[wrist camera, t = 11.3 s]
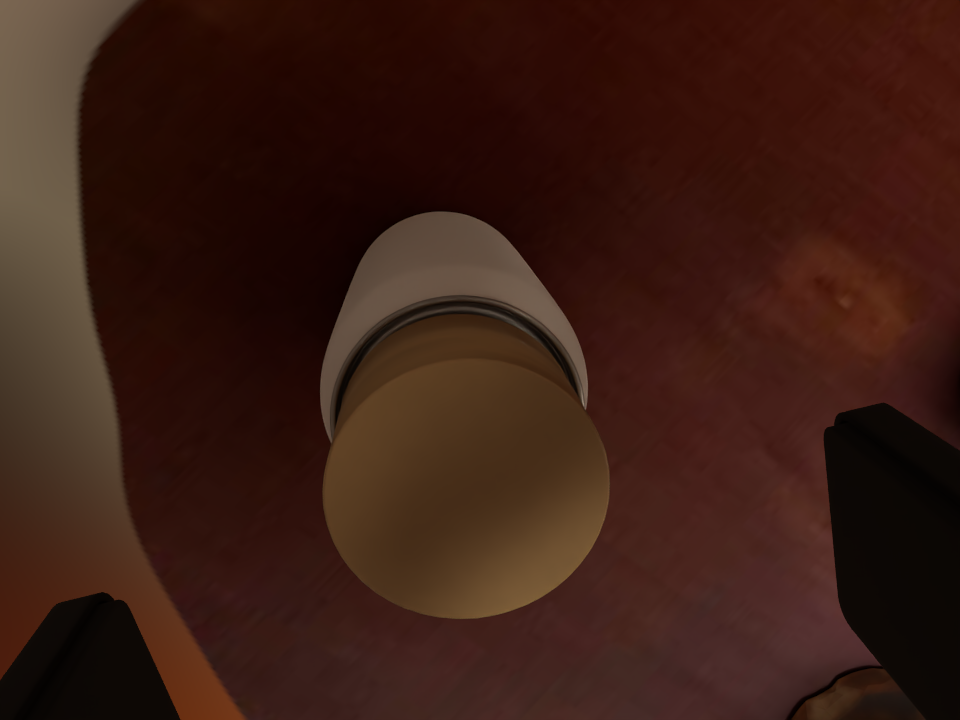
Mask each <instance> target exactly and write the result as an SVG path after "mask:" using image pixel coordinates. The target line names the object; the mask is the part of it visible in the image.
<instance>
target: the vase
mask: <svg viewBox="0 0 960 720" xmlns="http://www.w3.org/2000/svg"><path fill="white" fill-rule="evenodd" d="M791 720H926V719H925V718H924V717H923V716H922V714H921V713H920V712H919V711H918V710H917V708H916V707H915V706H914V705H913V703H912V702H911V701H910V700H909V698H908V697H907V696H906V695H905V694H904V692H903V691H902V690H901V689H900V687H899V686H898V685H897V684H896V683H895V681H894V680H893V679H892V678H891V676H890V675H889V674H888V673H887V671H886V670H885V669H876V668H870V669H865V670H860V671H857V672H853V673H850V674H848V675H846V676H844V677H842V678H840V679H838V680H837V681H836V682H835V684H834V685H833V686H832V687H831V688H830V689H828V690H826V691H825V692H823V693H821V694H820V695H818V696H816V697H813V698H810V699H808V700H807V701H805V702H804V704H803V705H802V706H801V707H800V708H799V709H798V710H797V712H796V713H795V715H794V716H793V718H792V719H791Z"/></svg>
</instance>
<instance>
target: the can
mask: <svg viewBox="0 0 960 720" xmlns="http://www.w3.org/2000/svg"><path fill="white" fill-rule="evenodd" d="M450 314H471V315H479V316H486V317H490V318H493V319H497V320H501V321H503V322H506V323H508V324H511V325H513V326H515V327H517V328H519V329H521V330H522V331H524V332H526V333H528V334H529V335H530V336H532V337H533V338H534V339H536V340H537V341H538V342H540V343H541V344H542V345H543V346H544V347H545V348H546V349H547V350H548V351H549V352H550V353H551V354H552V356H553V357H554V358H555V360H556V361H557V362H558V364H559V365H560V367H561V368H562V370H563V372H564V373H565V375H566V377H567V379H568V380H569V382H570V384H571V386H572V387H573V389H574V391H575V392H576V394H577V396H578V398H579V399H580V401H581V403H582V405H583V406H584V408H585V410H586V405H587V395H588V381H587V372H586V366H585V361H584V357H583V354H582V350H581V347H580V344H579V342H578V339H577V337H576V335H575V333H574V331H573V329H572V327H571V325H570V323H569V322H568V320H567V318H566V317H565V315H564V314H563V312H562V311H561V309H560V308H559V306H558V305H557V304H556V302H555V301H554V299H553V298H552V297H551V295H550V294H549V293H548V291H547V290H546V288H545V287H544V286H543V284H542V283H541V282H540V280H539V279H538V278H537V276H536V275H535V274H534V272H533V271H532V270H531V268H530V267H529V266H528V264H527V263H526V262H525V261H524V259H523V258H522V257H521V255H520V254H519V253H518V252H517V250H516V249H515V248H514V247H513V245H512V244H511V243H510V242H509V241H508V240H507V239H506V238H505V237H504V236H503V235H502V234H501V233H500V232H498V231H497V230H496V229H494V228H493V227H491V226H490V225H488V224H486V223H485V222H483V221H481V220H479V219H476V218H474V217H471V216H468V215H464V214H460V213H455V212H428V213H423V214H418V215H415V216H412V217H409V218H407V219H404V220H402V221H400V222H398V223H396V224H395V225H393V226H392V227H390V228H389V229H387V230H386V231H385V232H383V233H382V234H381V235H380V236H379V237H378V238H377V239H376V240H375V241H374V242H373V243H372V244H371V246H370V247H369V248H368V250H367V251H366V253H365V254H364V256H363V258H362V259H361V261H360V263H359V265H358V268H357V270H356V272H355V275H354V277H353V280H352V282H351V285H350V287H349V290H348V292H347V295H346V297H345V300H344V303H343V305H342V308H341V311H340V313H339V316H338V319H337V321H336V324H335V327H334V329H333V332H332V335H331V338H330V341H329V344H328V347H327V350H326V354H325V358H324V362H323V366H322V372H321V381H320V402H321V411H322V417H323V421H324V425H325V428H326V431H327V434H328V437H329V439H330V441H331V443H332V439H333V435H334V432H335V428H336V424H337V420H338V416H339V412H340V408H341V404H342V400H343V396H344V393H345V391H346V388H347V386H348V383H349V381H350V379H351V377H352V376H353V374H354V372H355V371H356V369H357V367H358V366H359V365H360V363H361V362H362V361H363V359H364V358H365V357H366V356H367V354H369V353H370V352H371V351H372V350H373V349H374V348H375V347H376V346H377V345H378V344H379V343H380V342H382V341H383V340H384V339H386V338H387V337H388V336H390V335H391V334H393V333H394V332H396V331H398V330H400V329H402V328H403V327H405V326H408V325H410V324H413V323H415V322H418V321H420V320H424V319H428V318H431V317H435V316H442V315H450Z"/></svg>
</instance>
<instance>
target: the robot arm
mask: <svg viewBox="0 0 960 720" xmlns="http://www.w3.org/2000/svg"><path fill="white" fill-rule="evenodd" d="M824 448H825V459H826V470H827V481H828V492H829V503H830V513H831V524H832V535H833V546H834V557H835V568H836V579H837V590H838V598H839V603H840V607H841V610H842V612H843V615H844V617H845V619H846V621H847V623H848V624H849V626H850V627H851V628H852V630H853V631H854V632H855V633H856V635H857V636H858V637H859V638H860V640H861V641H862V642H863V643H864V644H865V646H866V647H867V648H868V649H869V651H870V652H871V653H872V654H873V655H874V657H875V658H876V659H877V660H878V662H879V663H880V664H881V665H882V667H883V668H884V669H885V670H886V671H887V673H888V674H889V675H890V676H891V678H892V679H893V680H894V681H895V683H896V684H897V685H898V686H899V687H900V689H901V690H902V691H903V692H904V694H905V695H906V696H907V697H908V698H909V700H910V701H911V702H912V703H913V705H914V706H915V707H916V708H917V710H918V711H919V712H920V713H921V714H922V716H923V717H924V718H925V719H926V720H960V451H959V450H958V449H956V448H954V447H953V446H951V445H950V444H948V443H947V442H945V441H944V440H942V439H941V438H939V437H938V436H936V435H935V434H933V433H931V432H930V431H928V430H927V429H925V428H924V427H922V426H921V425H919V424H918V423H916V422H915V421H913V420H912V419H910V418H908V417H907V416H905V415H904V414H902V413H901V412H899V411H898V410H896V409H895V408H893V407H892V406H890V405H888V404H886V403H879V404H875V405H871V406H867V407H863V408H859V409H854V410H850V411H846V412H842V413H839V414H838V415H837V416H836V419H835V422H834V426H832V427H827V428H826V430H825V432H824ZM0 720H180V718H179V715H178V713H177V711H176V709H175V707H174V705H173V703H172V700H171V698H170V696H169V694H168V691H167V689H166V687H165V685H164V683H163V680H162V678H161V676H160V674H159V672H158V670H157V667H156V665H155V663H154V661H153V659H152V656H151V654H150V652H149V650H148V648H147V646H146V643H145V641H144V639H143V637H142V635H141V633H140V630H139V628H138V626H137V624H136V622H135V619H134V617H133V615H132V613H131V611H130V609H129V607H128V605H127V604H126V603H125V602H124V601H122V600H115V601H114V599H113V598H112V597H111V596H110V595H109V594H107V593H103V592H101V593H97V594H93V595H89V596H85V597H81V598H77V599H73V600H69V601H65V602H61V603H58V604H56V605H55V606H54V607H53V608H52V609H51V611H50V612H49V613H48V615H47V616H46V618H45V619H44V620H43V622H42V623H41V625H40V626H39V627H38V629H37V630H36V632H35V633H34V634H33V636H32V637H31V639H30V640H29V641H28V643H27V644H26V645H25V647H24V648H23V650H22V651H21V653H20V654H19V655H18V656H17V658H16V659H15V661H14V662H13V663H12V665H11V666H10V668H9V669H8V670H7V672H6V673H5V674H4V676H3V677H2V679H1V680H0Z"/></svg>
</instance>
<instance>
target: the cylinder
mask: <svg viewBox="0 0 960 720" xmlns="http://www.w3.org/2000/svg"><path fill="white" fill-rule="evenodd" d="M322 491H323V508H324V513H325V518H326V523H327V526H328V529H329V532H330V535H331V538H332V540H333V542H334V544H335V546H336V548H337V550H338V552H339V554H340V555H341V557H342V558H343V559H344V561H345V562H346V564H347V565H348V566H349V568H350V569H351V570H352V571H353V572H354V573H355V574H356V575H357V577H358V578H359V579H360V580H361V581H362V582H363V583H365V584H366V585H367V586H368V587H370V588H371V589H372V590H373V591H374V592H376V593H377V594H379V595H381V596H382V597H384V598H386V599H387V600H389V601H390V602H393V603H395V604H397V605H399V606H401V607H403V608H406V609H409V610H412V611H415V612H418V613H421V614H425V615H430V616H435V617H441V618H454V619H467V618H480V617H487V616H494V615H497V614H501V613H505V612H509V611H512V610H514V609H517V608H520V607H522V606H525V605H527V604H529V603H531V602H533V601H535V600H537V599H539V598H541V597H542V596H544V595H545V594H547V593H548V592H550V591H551V590H553V589H554V588H556V587H557V586H558V585H559V584H561V583H562V582H563V581H564V580H565V579H566V578H568V577H569V576H570V575H571V574H572V573H573V571H574V570H575V569H576V568H577V567H578V566H579V565H580V564H581V563H582V561H583V560H584V558H585V557H586V556H587V554H588V553H589V551H590V550H591V548H592V546H593V544H594V543H595V541H596V539H597V537H598V535H599V533H600V530H601V527H602V525H603V522H604V519H605V516H606V511H607V507H608V502H609V492H610V475H609V465H608V460H607V456H606V451H605V448H604V446H603V443H602V440H601V438H600V435H599V433H598V431H597V429H596V427H595V426H594V424H593V422H592V420H591V418H590V417H589V415H588V413H587V411H586V410H585V408H584V406H583V405H582V403H581V401H580V399H579V398H578V396H577V394H576V392H575V391H574V389H573V387H572V386H571V384H570V382H569V380H568V379H567V377H566V375H565V373H564V372H563V370H562V368H561V367H560V365H559V364H558V362H557V361H556V360H555V358H554V357H553V356H552V354H551V353H550V352H549V351H548V350H547V349H546V348H545V347H544V346H543V345H542V344H541V343H540V342H538V341H537V340H536V339H534V338H533V337H532V336H530V335H529V334H528V333H526V332H524V331H522V330H521V329H519V328H517V327H515V326H513V325H511V324H508V323H506V322H503V321H501V320H497V319H493V318H490V317H486V316H479V315H471V314H450V315H442V316H435V317H431V318H428V319H424V320H420V321H418V322H415V323H413V324H410V325H408V326H405V327H403V328H402V329H400V330H398V331H396V332H394V333H393V334H391V335H390V336H388V337H387V338H386V339H384V340H383V341H382V342H380V343H379V344H378V345H377V346H376V347H375V348H374V349H373V350H372V351H371V352H370V353H369V354H367V356H366V357H365V358H364V359H363V361H362V362H361V363H360V365H359V366H358V367H357V369H356V371H355V372H354V374H353V376H352V377H351V379H350V381H349V383H348V386H347V388H346V391H345V393H344V396H343V400H342V404H341V408H340V412H339V416H338V420H337V424H336V428H335V432H334V435H333V439H332V443H331V447H330V451H329V455H328V459H327V463H326V467H325V471H324V479H323V489H322Z"/></svg>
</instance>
